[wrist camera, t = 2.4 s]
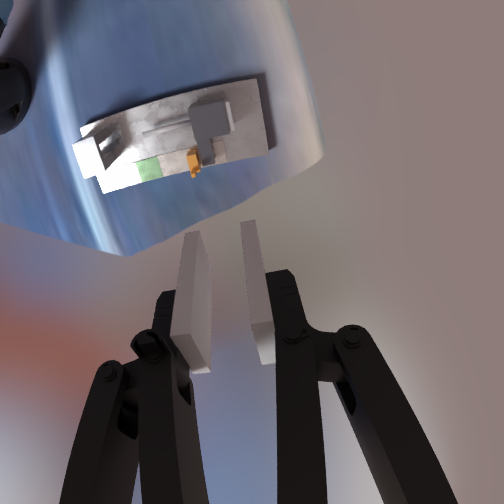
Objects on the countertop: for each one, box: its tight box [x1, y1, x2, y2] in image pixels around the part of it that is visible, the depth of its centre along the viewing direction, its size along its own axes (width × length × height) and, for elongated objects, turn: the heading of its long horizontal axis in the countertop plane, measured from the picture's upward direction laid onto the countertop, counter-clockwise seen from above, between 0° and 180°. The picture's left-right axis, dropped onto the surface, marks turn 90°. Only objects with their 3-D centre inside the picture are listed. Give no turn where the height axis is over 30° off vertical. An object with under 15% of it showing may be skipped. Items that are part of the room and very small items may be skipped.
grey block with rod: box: [142, 97, 235, 166], centre depth 42 cm, size 14×10×5 cm
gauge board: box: [72, 78, 269, 193], centre depth 43 cm, size 30×13×8 cm, turn 99°
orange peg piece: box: [186, 149, 201, 178], centre depth 44 cm, size 2×3×5 cm, turn 10°
